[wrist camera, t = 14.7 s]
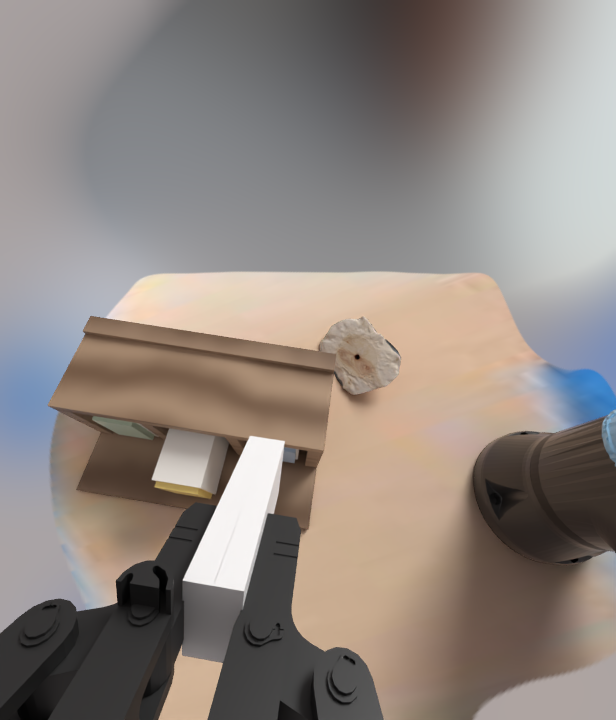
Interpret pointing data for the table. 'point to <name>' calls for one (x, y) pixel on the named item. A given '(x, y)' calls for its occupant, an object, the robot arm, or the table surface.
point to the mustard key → (190, 463)
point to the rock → (361, 356)
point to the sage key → (125, 428)
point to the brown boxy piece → (195, 405)
